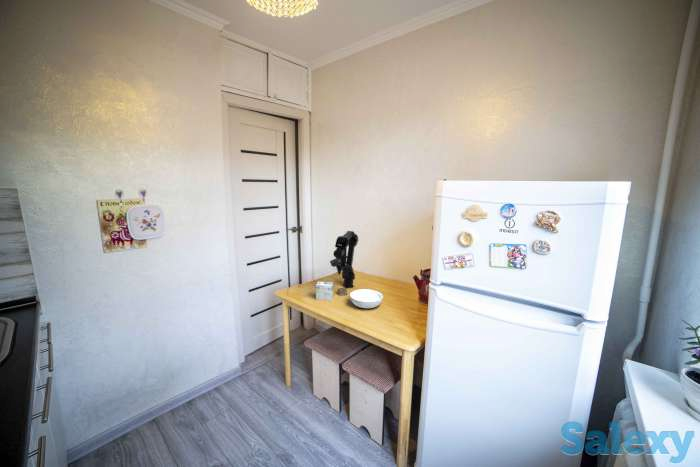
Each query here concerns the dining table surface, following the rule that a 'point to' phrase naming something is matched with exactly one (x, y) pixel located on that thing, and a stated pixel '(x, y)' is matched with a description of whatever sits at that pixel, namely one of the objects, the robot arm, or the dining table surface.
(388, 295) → the dining table surface
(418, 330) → the dining table surface
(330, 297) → the light bulb box
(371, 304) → the serving bowl
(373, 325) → the dining table surface
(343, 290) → the walnut block
